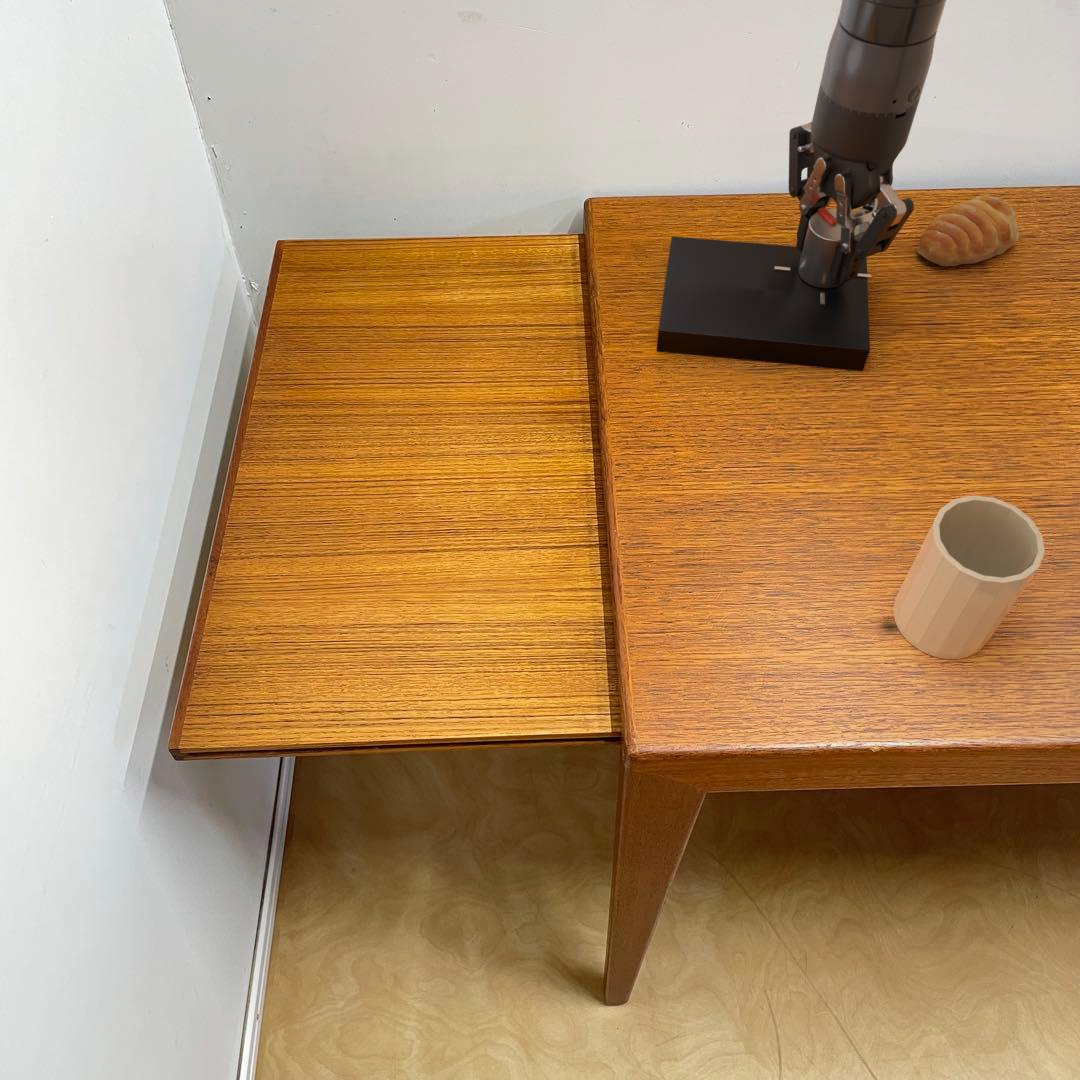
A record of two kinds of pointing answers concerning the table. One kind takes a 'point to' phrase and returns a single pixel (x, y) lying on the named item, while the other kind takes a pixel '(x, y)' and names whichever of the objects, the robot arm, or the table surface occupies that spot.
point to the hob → (760, 307)
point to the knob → (821, 248)
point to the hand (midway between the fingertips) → (824, 263)
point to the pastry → (970, 232)
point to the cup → (967, 576)
